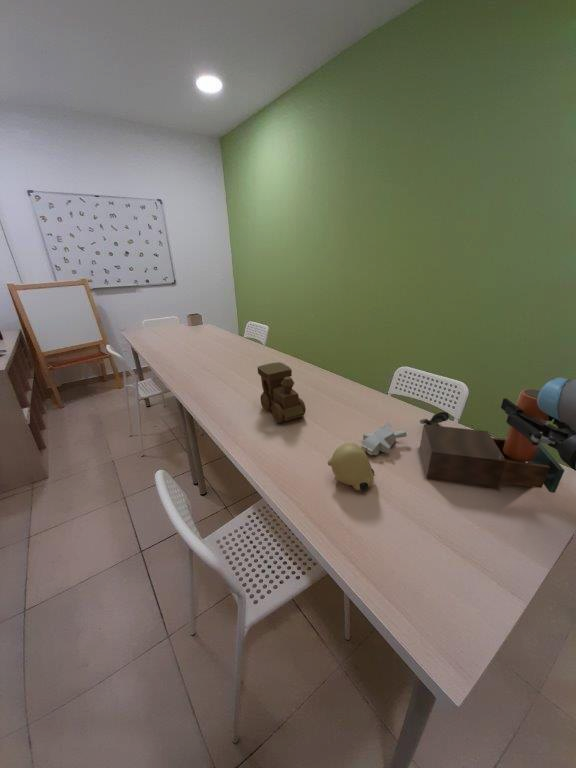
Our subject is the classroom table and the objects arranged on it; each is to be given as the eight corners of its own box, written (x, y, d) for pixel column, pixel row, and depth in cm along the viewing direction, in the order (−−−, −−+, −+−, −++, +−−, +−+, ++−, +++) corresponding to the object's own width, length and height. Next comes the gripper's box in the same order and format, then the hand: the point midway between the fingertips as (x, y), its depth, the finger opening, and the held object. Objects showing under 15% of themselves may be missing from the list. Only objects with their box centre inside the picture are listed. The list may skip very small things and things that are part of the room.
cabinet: (480, 456, 87) (487, 431, 84) (497, 489, 75) (506, 461, 72) (419, 448, 91) (423, 424, 88) (426, 478, 79) (431, 451, 76)
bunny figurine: (353, 436, 91) (384, 416, 98) (354, 450, 93) (384, 428, 100) (380, 451, 84) (411, 428, 91) (379, 465, 86) (409, 441, 94)
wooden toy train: (257, 405, 120) (254, 366, 113) (282, 398, 125) (281, 360, 118) (280, 428, 104) (279, 384, 97) (308, 419, 108) (308, 377, 102)
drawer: (536, 461, 83) (543, 441, 80) (561, 493, 72) (571, 471, 69) (469, 453, 87) (474, 433, 84) (482, 482, 76) (489, 460, 73)
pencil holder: (526, 447, 79) (547, 389, 72) (539, 463, 73) (562, 401, 67) (498, 444, 81) (516, 387, 74) (508, 459, 75) (528, 398, 68)
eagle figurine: (445, 437, 94) (454, 421, 100) (434, 418, 93) (444, 404, 99) (423, 440, 100) (432, 425, 106) (413, 422, 99) (423, 408, 105)
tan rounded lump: (343, 502, 77) (376, 494, 70) (316, 463, 77) (345, 451, 70) (358, 479, 84) (389, 469, 77) (333, 444, 84) (362, 431, 77)
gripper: (533, 473, 58) (475, 415, 79) (643, 477, 57) (554, 416, 78) (545, 441, 55) (482, 389, 76) (662, 444, 54) (564, 390, 75)
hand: (518, 403), depth 77 cm, fingers closed on pencil holder, 7 cm apart
